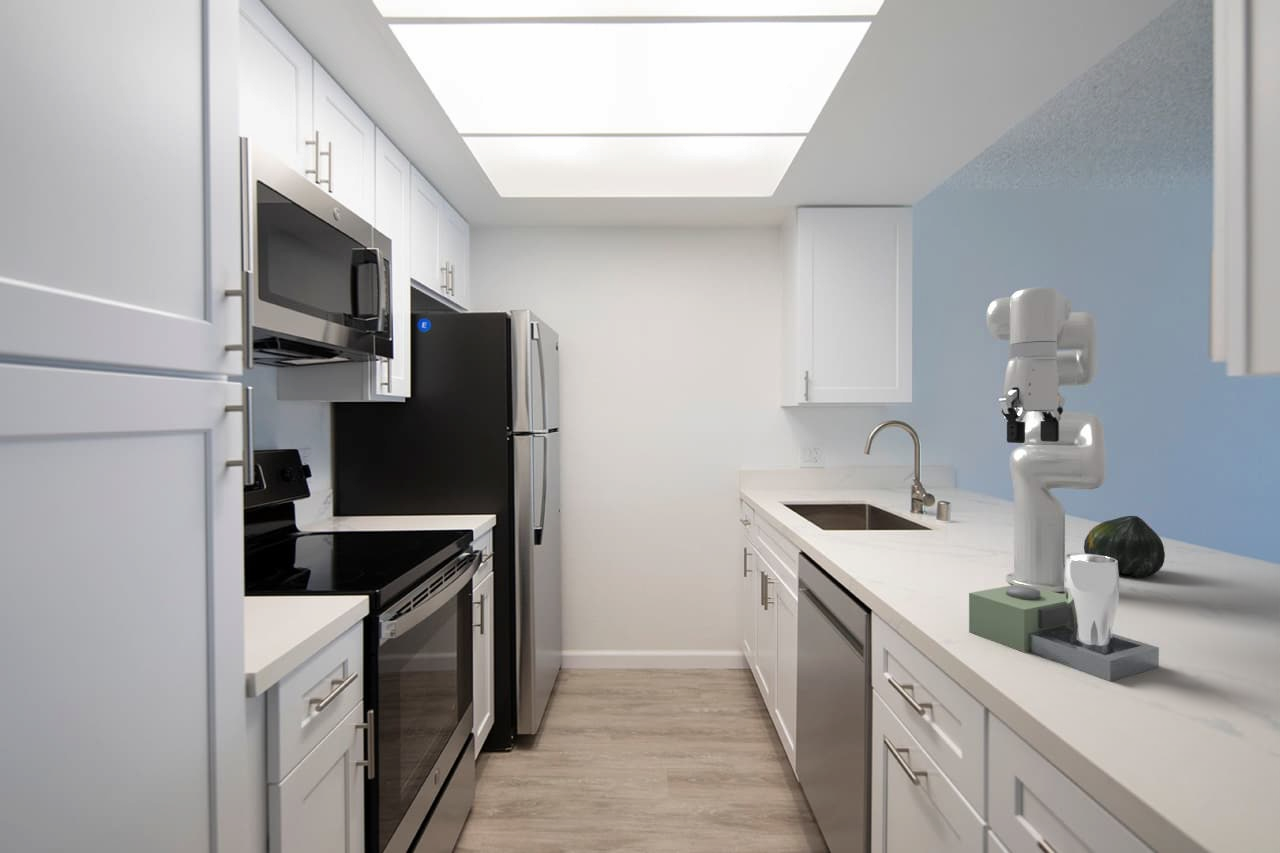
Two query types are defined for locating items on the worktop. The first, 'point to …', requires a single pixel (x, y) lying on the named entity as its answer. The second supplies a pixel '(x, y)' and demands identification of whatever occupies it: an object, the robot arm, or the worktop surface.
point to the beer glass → (1091, 600)
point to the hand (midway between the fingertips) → (1032, 442)
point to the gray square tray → (1094, 654)
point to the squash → (1127, 545)
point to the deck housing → (1015, 613)
